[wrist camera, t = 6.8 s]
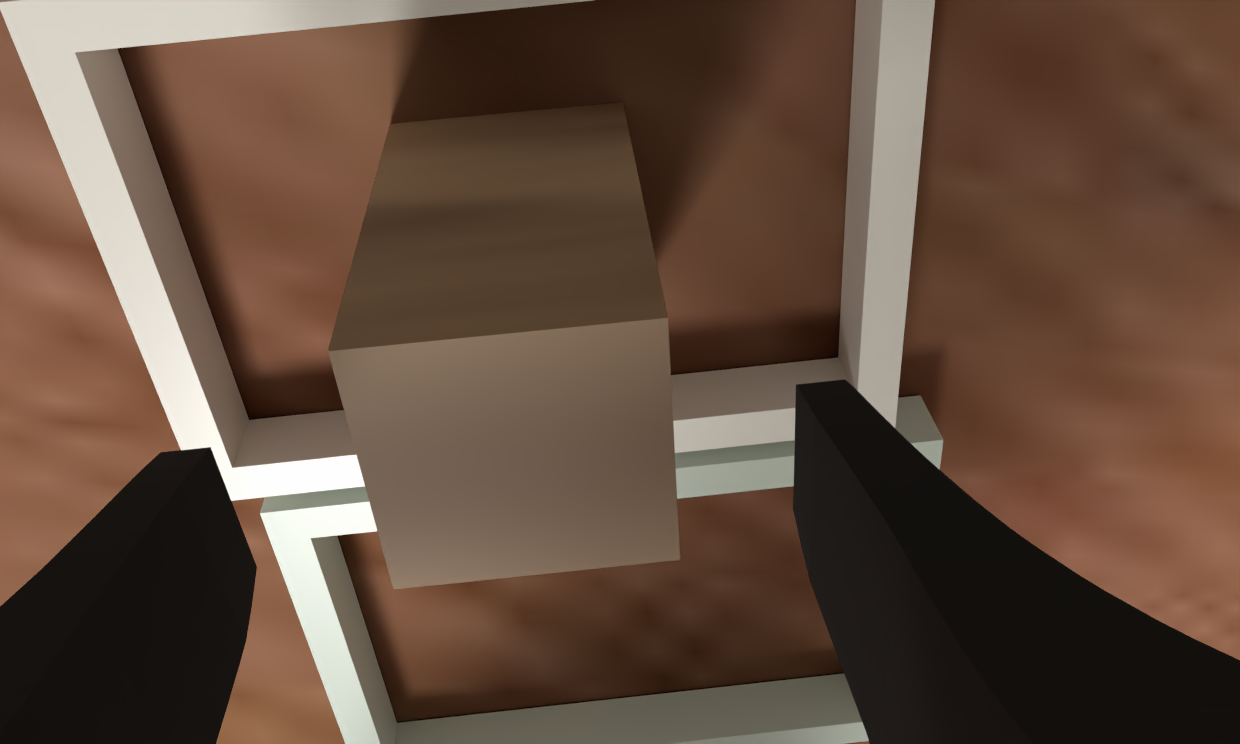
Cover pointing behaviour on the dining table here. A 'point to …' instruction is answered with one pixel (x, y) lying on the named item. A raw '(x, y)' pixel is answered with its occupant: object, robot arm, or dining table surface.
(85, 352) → the dining table surface
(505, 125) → the block
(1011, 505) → the dining table surface
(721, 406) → the tray
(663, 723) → the pale green rectangular frame
